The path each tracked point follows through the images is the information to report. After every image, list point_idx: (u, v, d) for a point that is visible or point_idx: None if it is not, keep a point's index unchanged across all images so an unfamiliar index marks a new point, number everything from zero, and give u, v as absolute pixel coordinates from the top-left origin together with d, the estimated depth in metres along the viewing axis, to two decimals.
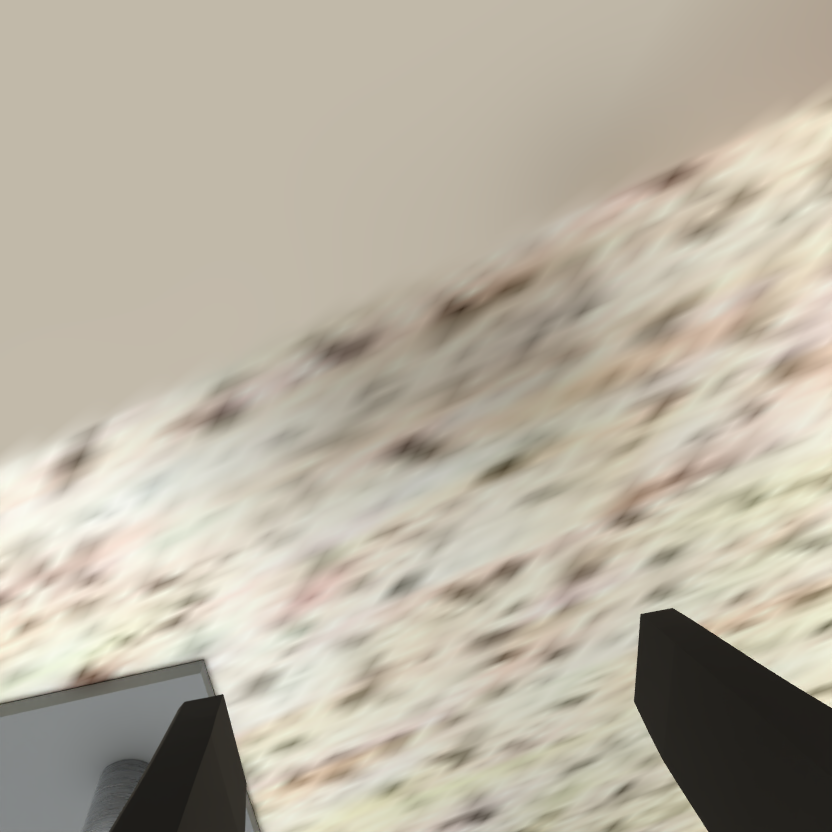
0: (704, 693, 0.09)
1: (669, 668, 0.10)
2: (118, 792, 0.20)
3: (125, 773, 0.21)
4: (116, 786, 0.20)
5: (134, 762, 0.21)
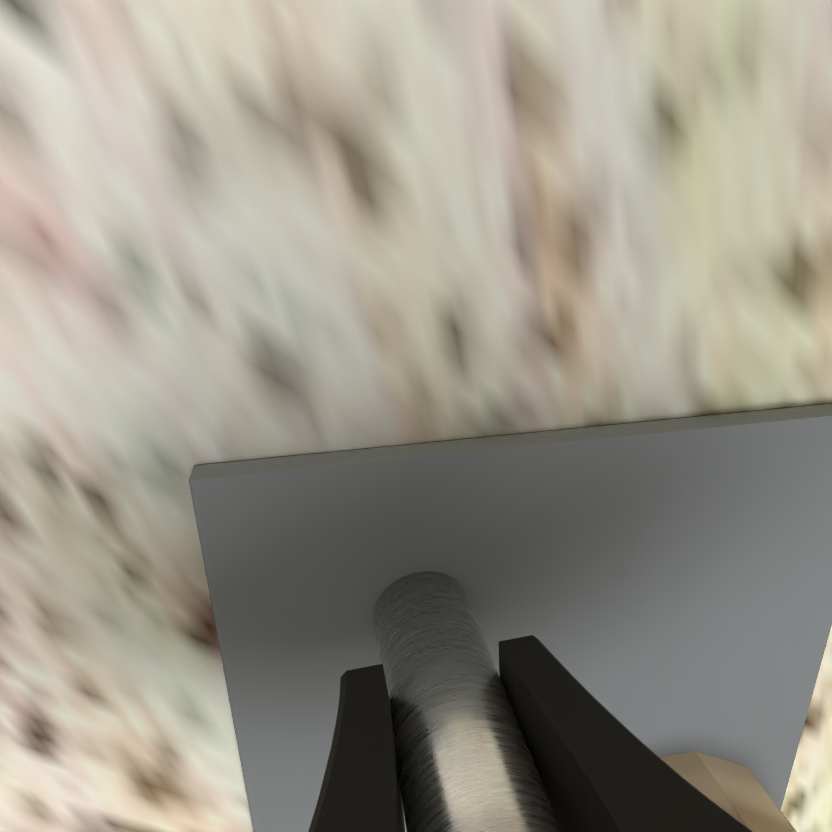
0: (539, 728, 0.09)
1: (517, 699, 0.09)
2: (381, 655, 0.11)
3: (377, 627, 0.12)
4: (379, 651, 0.11)
5: (377, 605, 0.12)
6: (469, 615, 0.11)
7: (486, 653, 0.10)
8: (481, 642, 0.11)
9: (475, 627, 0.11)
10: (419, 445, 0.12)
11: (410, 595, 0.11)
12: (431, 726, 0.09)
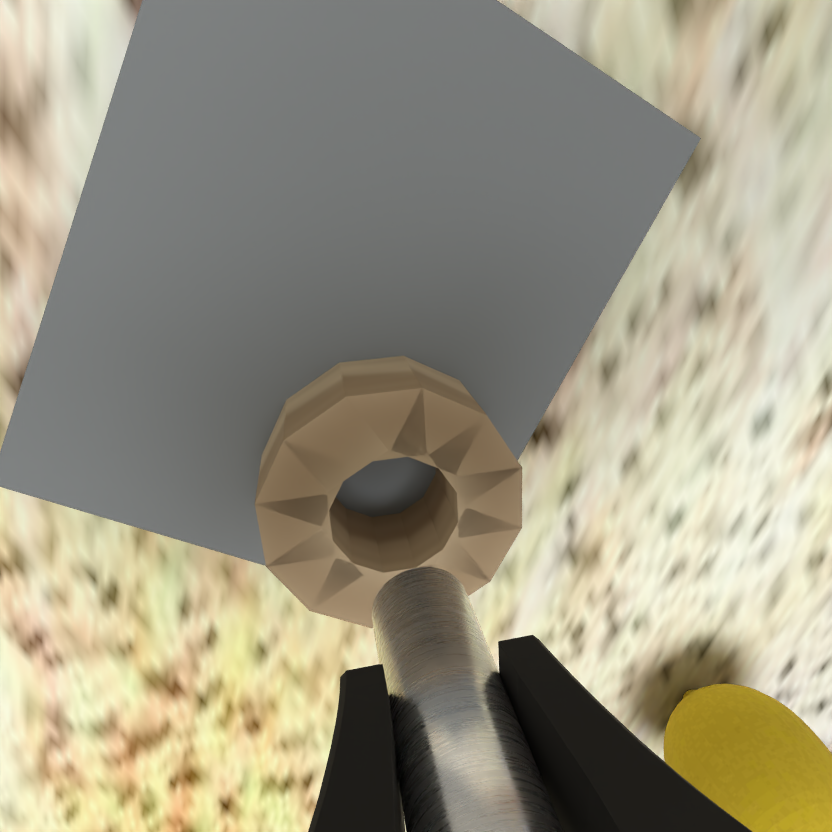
0: (539, 728, 0.09)
1: (517, 699, 0.09)
2: (379, 650, 0.11)
3: (376, 624, 0.12)
4: (378, 648, 0.11)
5: (376, 602, 0.12)
6: (466, 609, 0.11)
7: (483, 645, 0.10)
8: (478, 635, 0.11)
9: (472, 620, 0.11)
10: None
11: (408, 591, 0.11)
12: (427, 718, 0.09)
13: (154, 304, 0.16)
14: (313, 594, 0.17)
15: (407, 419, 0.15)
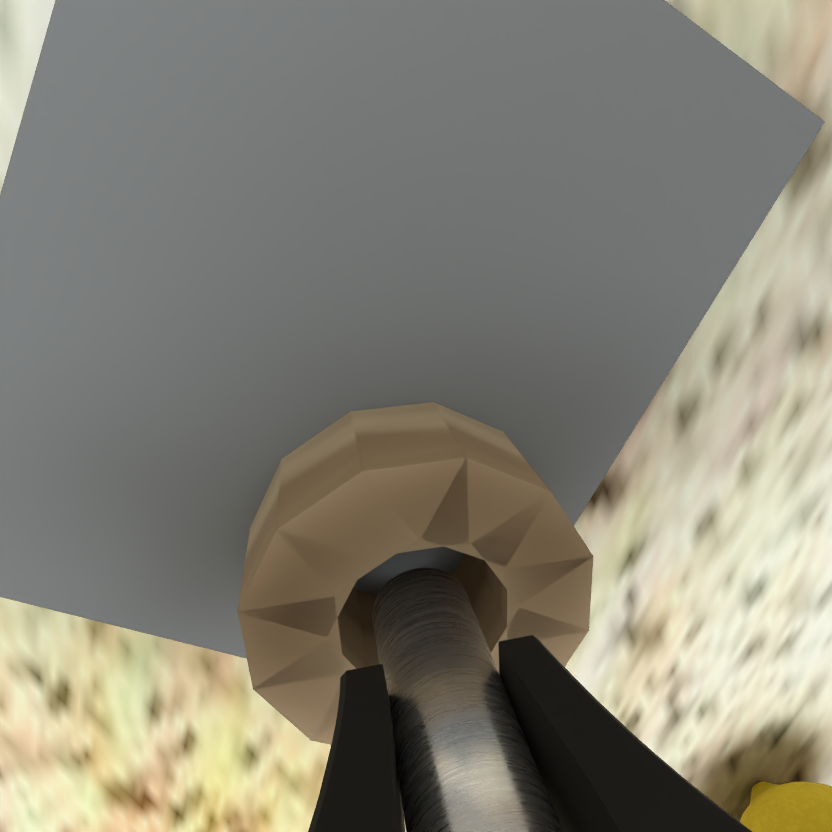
0: (539, 728, 0.09)
1: (517, 699, 0.09)
2: (379, 651, 0.11)
3: (376, 624, 0.12)
4: (378, 648, 0.11)
5: (376, 602, 0.12)
6: (466, 609, 0.11)
7: (483, 646, 0.10)
8: (478, 635, 0.11)
9: (472, 622, 0.11)
10: None
11: (407, 592, 0.11)
12: (427, 718, 0.09)
13: (106, 339, 0.12)
14: (316, 720, 0.13)
15: (444, 498, 0.11)
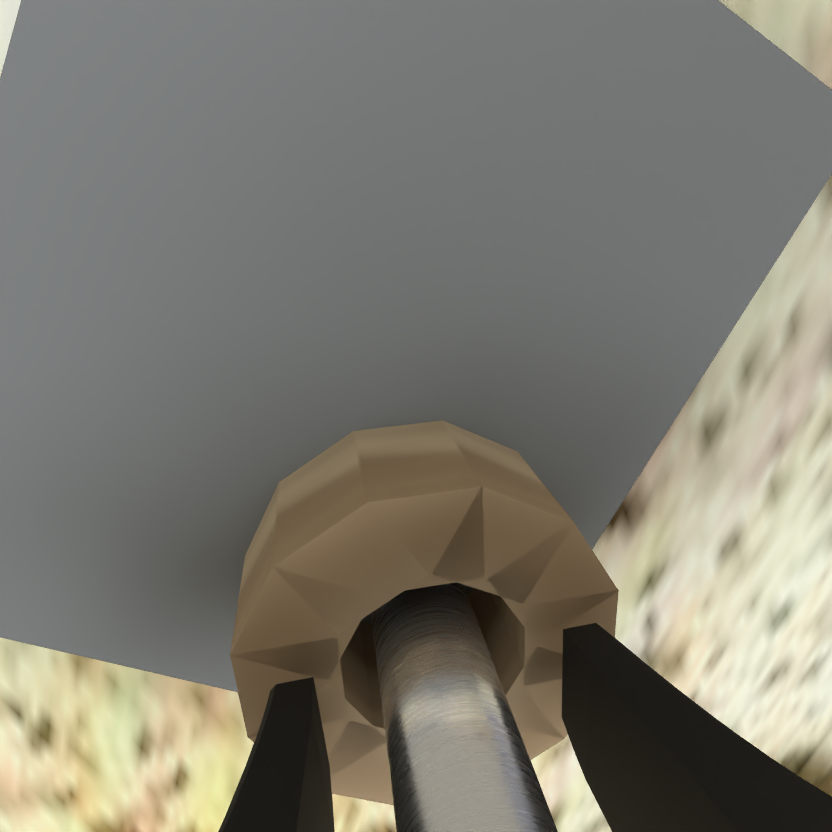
0: (614, 712, 0.09)
1: (586, 685, 0.10)
2: None
3: None
4: None
5: None
6: None
7: (461, 590, 0.12)
8: (457, 582, 0.12)
9: None
10: None
11: None
12: (405, 640, 0.10)
13: (86, 354, 0.11)
14: None
15: (458, 530, 0.10)
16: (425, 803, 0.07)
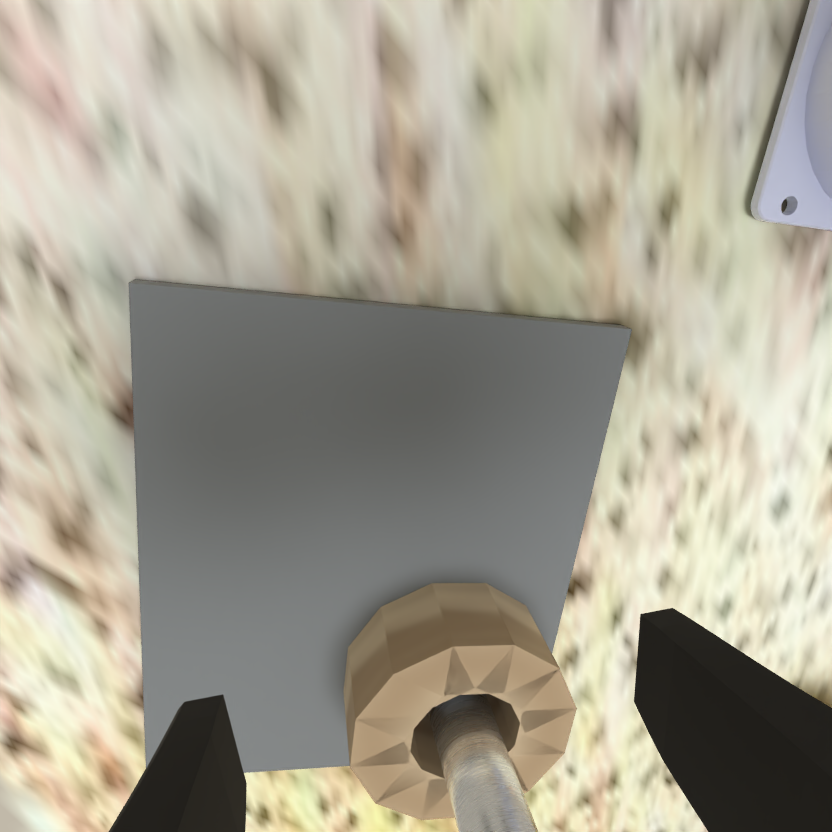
0: (704, 693, 0.09)
1: (669, 668, 0.10)
2: None
3: None
4: None
5: None
6: None
7: None
8: None
9: None
10: (296, 295, 0.17)
11: None
12: (447, 742, 0.18)
13: (221, 621, 0.19)
14: (420, 808, 0.20)
15: (449, 670, 0.18)
16: None
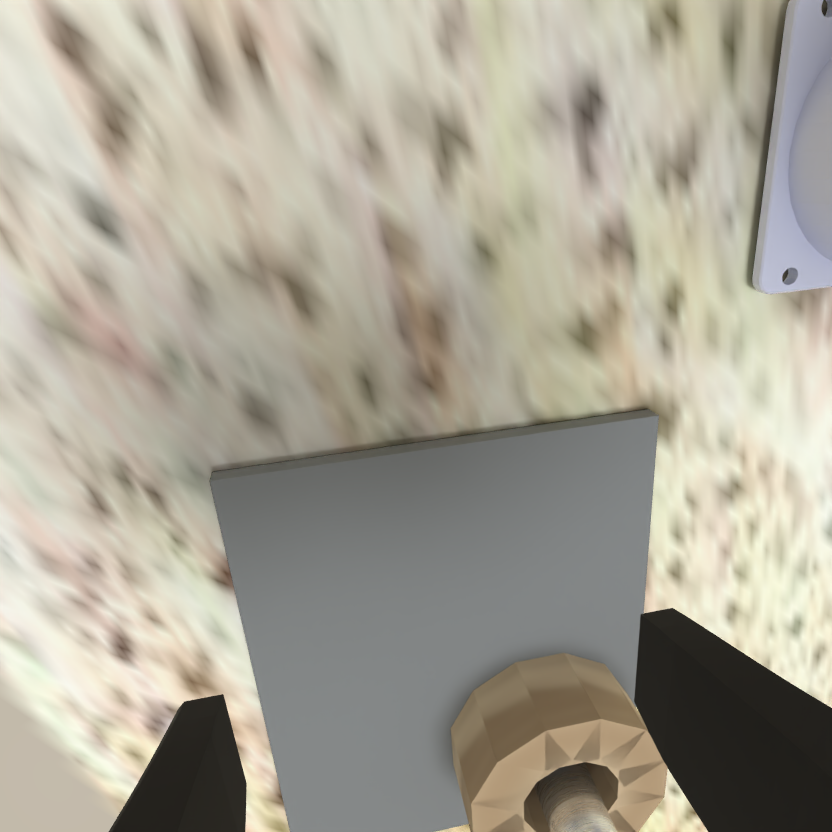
0: (704, 693, 0.09)
1: (669, 668, 0.10)
2: None
3: None
4: None
5: None
6: None
7: None
8: None
9: None
10: (350, 453, 0.19)
11: None
12: (551, 807, 0.20)
13: (336, 728, 0.22)
14: None
15: (546, 750, 0.20)
16: None
